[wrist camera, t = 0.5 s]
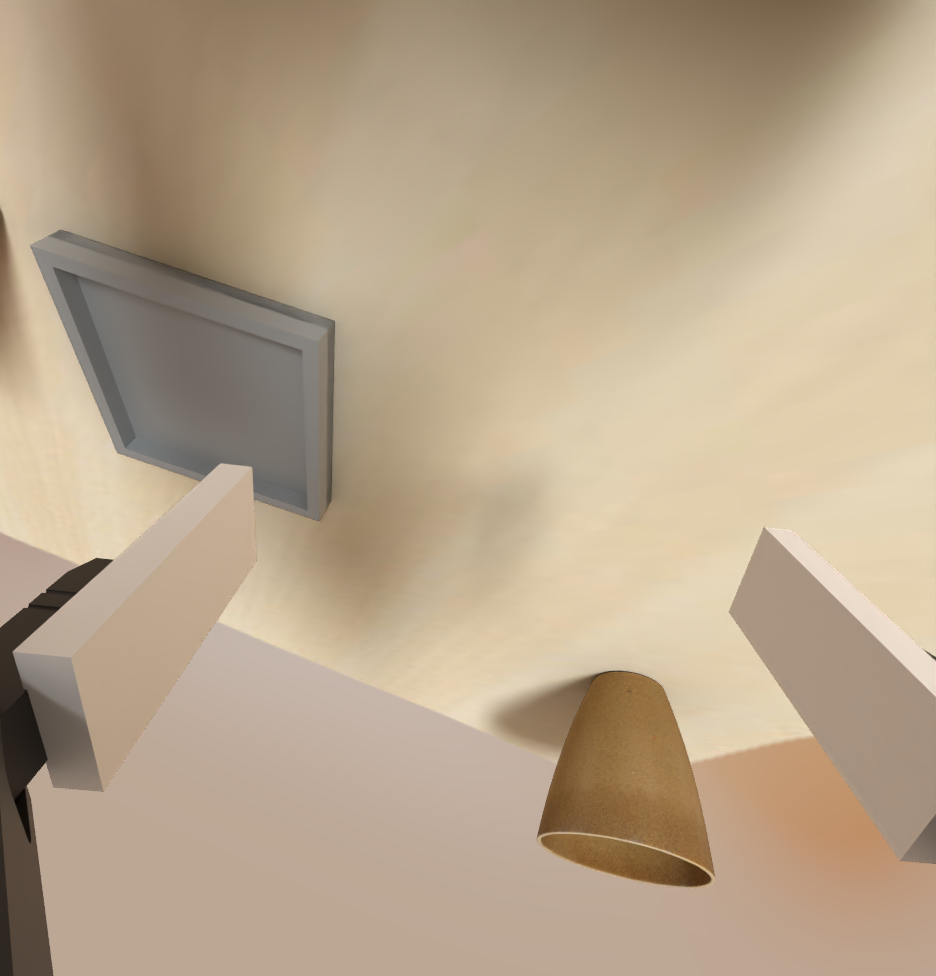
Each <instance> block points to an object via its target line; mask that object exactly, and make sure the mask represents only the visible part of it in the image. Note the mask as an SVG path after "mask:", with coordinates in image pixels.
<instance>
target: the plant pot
mask: <svg viewBox="0 0 936 976" xmlns="http://www.w3.org/2000/svg"><path fill="white" fill-rule="evenodd" d="M537 842H538V844H539V845H540V846H541V847H542V848H544V849H545V850H546V851H548V852H550V853H552V854H554V855H556V856H558V857H560V858H562V859H564V860H567V861H569V862H571V863H574V864H577V865H580V866H582V867H585V868H588V869H591V870H595V871H598V872H601V873H605V874H608V875H612V876H616V877H620V878H624V879H628V880H633V881H638V882H643V883H648V884H654V885H661V886H669V887H679V888H701V887H706V886H710V885H712V884H714V882H715V874H714V870H713V863H712V858H711V853H710V847H709V842H708V837H707V832H706V827H705V822H704V817H703V813H702V808H701V803H700V799H699V795H698V791H697V787H696V783H695V779H694V775H693V772H692V768H691V765H690V761H689V758H688V755H687V752H686V748H685V745H684V742H683V739H682V736H681V733H680V730H679V727H678V724H677V722H676V719H675V716H674V714H673V711H672V708H671V706H670V703H669V701H668V698H667V696H666V693H665V691H664V689H663V687H662V686H661V685H660V684H659V683H657V682H656V681H654V680H652V679H650V678H648V677H645V676H643V675H639V674H635V673H629V672H608V673H604V674H601V675H599V676H597V677H596V678H595V679H594V680H593V682H592V684H591V686H590V688H589V689H588V691H587V693H586V695H585V697H584V699H583V701H582V703H581V706H580V708H579V710H578V712H577V714H576V716H575V719H574V721H573V723H572V726H571V728H570V731H569V733H568V736H567V738H566V741H565V744H564V746H563V749H562V752H561V755H560V758H559V761H558V764H557V767H556V769H555V773H554V776H553V779H552V782H551V786H550V789H549V793H548V796H547V800H546V803H545V807H544V811H543V815H542V819H541V823H540V827H539V831H538V836H537Z"/></svg>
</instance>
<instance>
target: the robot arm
mask: <svg viewBox="0 0 936 976" xmlns="http://www.w3.org/2000/svg"><path fill="white" fill-rule="evenodd" d="M256 561H257V557H256V536H255V515H254V494H253V473H252V467H248V466H240V465H231V464H223V463H221V464H219V465H218V466H217V467H216V468H215V469H214V470H213V471H212V472H211V473H210V474H208V475H207V476H206V477H205V478H204V479H203V480H202V481H201V482H200V483H198V484H197V485H196V486H195V487H194V488H193V489H192V490H191V491H190V492H189V493H187V494H186V495H185V496H184V497H183V498H182V499H181V500H180V501H179V502H177V503H176V504H175V505H174V506H173V507H172V508H171V509H170V510H169V511H168V512H166V513H165V514H164V515H163V516H162V517H161V518H160V519H159V520H158V521H156V522H155V523H154V524H153V525H152V526H151V527H150V528H149V529H148V530H147V531H145V532H144V533H143V534H142V535H141V536H140V537H139V538H138V539H137V540H135V541H134V542H133V543H132V544H131V545H130V546H129V547H128V548H127V549H126V550H124V551H123V552H122V553H121V554H120V555H119V556H118V557H117V558H116V559H114V560H110V559H101V558H95V559H93V560H91V561H89V562H87V563H85V564H83V565H81V566H79V567H77V568H75V569H72V570H70V571H68V572H67V573H66V574H64V575H63V576H62V577H61V578H60V579H58V580H57V581H56V582H55V583H54V584H52V585H51V586H50V587H49V588H48V589H46V593H41V594H40V595H39V596H38V597H37V598H35V599H34V600H33V601H32V602H31V603H29V606H28V608H23V609H22V610H21V611H20V612H19V613H17V614H16V615H15V616H14V617H13V618H11V619H10V620H9V621H8V622H7V623H5V624H4V625H3V626H2V627H1V628H0V976H53V969H52V962H51V954H50V946H49V938H48V930H47V923H46V915H45V906H44V899H43V891H42V883H41V875H40V867H39V860H38V852H37V844H36V836H35V828H34V820H33V812H32V804H31V798H30V795H29V792H28V789H27V784H28V783H29V782H30V781H31V780H32V778H33V777H34V776H35V775H36V774H37V772H38V771H39V770H40V769H41V767H42V766H43V765H44V764H45V762H46V764H47V768H48V771H49V774H50V778H51V781H52V784H53V787H55V788H68V789H78V790H90V791H101V792H103V791H104V790H105V789H106V787H107V786H108V784H109V783H110V781H111V780H112V778H113V777H114V775H115V774H116V772H117V771H118V769H119V768H120V766H121V765H122V763H123V762H124V760H125V759H126V757H127V756H128V754H129V752H130V751H131V750H132V748H133V747H134V745H135V743H136V742H137V741H138V739H139V738H140V736H141V734H142V733H143V731H144V730H145V728H146V727H147V725H148V724H149V722H150V721H151V719H152V718H153V716H154V715H155V713H156V711H157V710H158V709H159V707H160V706H161V704H162V703H163V701H164V700H165V698H166V697H167V695H168V694H169V692H170V691H171V689H172V687H173V686H174V685H175V683H176V682H177V680H178V679H179V677H180V675H181V674H182V673H183V671H184V669H185V668H186V666H187V665H188V664H189V662H190V661H191V659H192V657H193V656H194V654H195V653H196V651H197V650H198V648H199V647H200V645H201V644H202V642H203V641H204V639H205V638H206V636H207V635H208V633H209V632H210V630H211V629H212V627H213V625H214V624H215V623H216V621H217V620H218V618H219V617H220V615H221V614H222V612H223V611H224V609H225V608H226V606H227V605H228V603H229V602H230V600H231V599H232V597H233V596H234V594H235V593H236V591H237V590H238V588H239V587H240V585H241V584H242V582H243V581H244V579H245V577H246V576H247V574H248V573H249V571H250V570H251V568H252V567H253V565H254V564H255V562H256ZM729 613H730V614H731V616H732V617H733V619H734V620H735V622H736V623H737V625H738V626H739V627H740V629H741V630H742V632H743V633H744V635H745V636H746V638H747V639H748V641H749V642H750V643H751V645H752V646H753V648H754V649H755V651H756V652H757V654H758V655H759V657H760V658H761V659H762V661H763V662H764V664H765V665H766V667H767V668H768V670H769V671H770V673H771V674H772V675H773V677H774V678H775V680H776V681H777V683H778V684H779V686H780V687H781V689H782V690H783V692H784V693H785V694H786V696H787V697H788V699H789V700H790V702H791V703H792V705H793V706H794V708H795V709H796V710H797V712H798V713H799V715H800V716H801V718H802V719H803V721H804V722H805V724H806V725H807V726H808V728H809V729H810V731H811V732H812V734H813V735H814V737H815V738H816V740H817V741H818V742H819V744H820V745H821V747H822V748H823V750H824V751H825V753H826V754H827V756H828V757H829V759H830V760H831V761H832V763H833V764H834V766H835V767H836V769H837V770H838V772H839V773H840V774H841V776H842V777H843V779H844V780H845V782H846V783H847V785H848V786H849V788H850V789H851V790H852V792H853V793H854V795H855V796H856V798H857V799H858V801H859V802H860V804H861V805H862V807H863V808H864V809H865V811H866V812H867V814H868V815H869V817H870V818H871V820H872V821H873V823H874V824H875V826H876V827H877V828H878V830H879V831H880V833H881V834H882V836H883V837H884V838H885V840H886V841H887V843H888V844H889V846H890V847H891V849H892V850H893V852H894V853H895V855H896V856H897V858H898V859H899V860H900V861H909V862H920V863H932V864H936V657H935V656H933V655H932V654H930V653H928V652H927V651H925V650H924V649H922V648H921V647H920V646H919V645H918V644H917V643H915V642H914V641H913V640H912V639H911V638H910V637H909V636H908V635H907V634H906V633H905V632H903V631H902V630H901V629H900V628H899V627H898V626H897V625H896V624H895V623H894V622H892V621H891V620H890V619H889V618H888V617H887V616H886V615H885V614H884V613H883V612H882V611H880V610H879V609H878V608H877V607H876V606H875V605H874V604H873V603H872V602H871V601H869V600H868V599H867V598H866V597H865V596H864V595H863V594H862V593H861V592H860V591H859V590H857V589H856V588H855V587H854V586H853V585H852V584H851V583H850V582H849V581H848V580H846V579H845V578H844V577H843V576H842V575H841V574H840V573H839V572H838V571H837V570H836V569H834V568H833V567H832V566H831V565H830V564H829V563H828V562H827V561H826V560H825V559H823V558H822V557H821V556H820V555H819V554H818V553H817V552H816V551H815V550H814V549H813V548H811V547H810V546H809V545H808V544H807V543H806V542H805V541H804V540H803V539H802V538H801V537H799V536H798V535H797V534H796V533H795V532H794V531H793V530H787V529H778V528H770V527H764V528H763V531H762V533H761V535H760V538H759V540H758V543H757V545H756V547H755V550H754V552H753V555H752V557H751V560H750V562H749V564H748V567H747V569H746V572H745V574H744V576H743V579H742V581H741V584H740V586H739V589H738V591H737V593H736V596H735V598H734V601H733V603H732V606H731V608H730V610H729Z"/></svg>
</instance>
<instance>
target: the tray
mask: <svg viewBox="0 0 936 976" xmlns="http://www.w3.org/2000/svg"><path fill="white" fill-rule="evenodd" d="M30 247H31V249H32V251H33V254H34V256H35V258H36V261H37V263H38V266H39V268H40V270H41V273H42V275H43V277H44V280H45V282H46V285H47V287H48V289H49V292H50V294H51V296H52V299H53V301H54V304H55V306H56V308H57V311H58V313H59V315H60V318H61V320H62V323H63V325H64V327H65V330H66V332H67V335H68V337H69V339H70V342H71V344H72V346H73V349H74V351H75V354H76V356H77V358H78V361H79V363H80V365H81V368H82V370H83V373H84V375H85V377H86V380H87V382H88V384H89V387H90V389H91V392H92V394H93V396H94V399H95V401H96V403H97V406H98V408H99V411H100V413H101V415H102V418H103V420H104V423H105V425H106V427H107V430H108V432H109V434H110V437H111V439H112V442H113V444H114V446H115V449H116V451H117V453H119V454H122V455H125V456H128V457H131V458H134V459H137V460H139V461H142V462H145V463H148V464H151V465H154V466H157V467H160V468H163V469H166V470H169V471H172V472H175V473H178V474H181V475H184V476H187V477H190V478H193V479H196V480H199V481H202V480H203V479H204V478H205V477H206V476H207V475H208V474H210V473H211V472H212V471H213V470H214V469H215V468H216V467H217V466H218V465H219V464H221V463H223V464H231V465H240V466H248V467H252V473H253V494H254V499H255V500H258V501H261V502H263V503H266V504H269V505H272V506H275V507H278V508H281V509H284V510H287V511H290V512H293V513H296V514H299V515H302V516H305V517H308V518H311V519H314V520H317V521H320V519H321V518H322V516H323V514H324V512H325V511H326V509H327V507H328V505H329V504H330V502H331V485H332V434H333V384H334V334H335V321H332V320H329V319H326V318H323V317H320V316H317V315H314V314H311V313H308V312H305V311H302V310H299V309H296V308H293V307H290V306H287V305H285V304H282V303H279V302H276V301H273V300H270V299H267V298H264V297H261V296H258V295H255V294H252V293H249V292H246V291H243V290H240V289H237V288H234V287H231V286H228V285H225V284H222V283H219V282H216V281H213V280H210V279H207V278H204V277H201V276H198V275H195V274H192V273H189V272H186V271H183V270H180V269H177V268H174V267H171V266H168V265H165V264H162V263H159V262H156V261H153V260H150V259H147V258H144V257H141V256H138V255H135V254H132V253H129V252H126V251H123V250H120V249H117V248H114V247H111V246H108V245H105V244H102V243H99V242H96V241H93V240H90V239H87V238H84V237H81V236H78V235H75V234H72V233H69V232H66V231H63V230H59V231H57V232H55V233H53V234H51V235H49V236H48V237H46V238H44V239H42V240H40V241H38V242H36V243H34V244H32V245H30Z"/></svg>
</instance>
